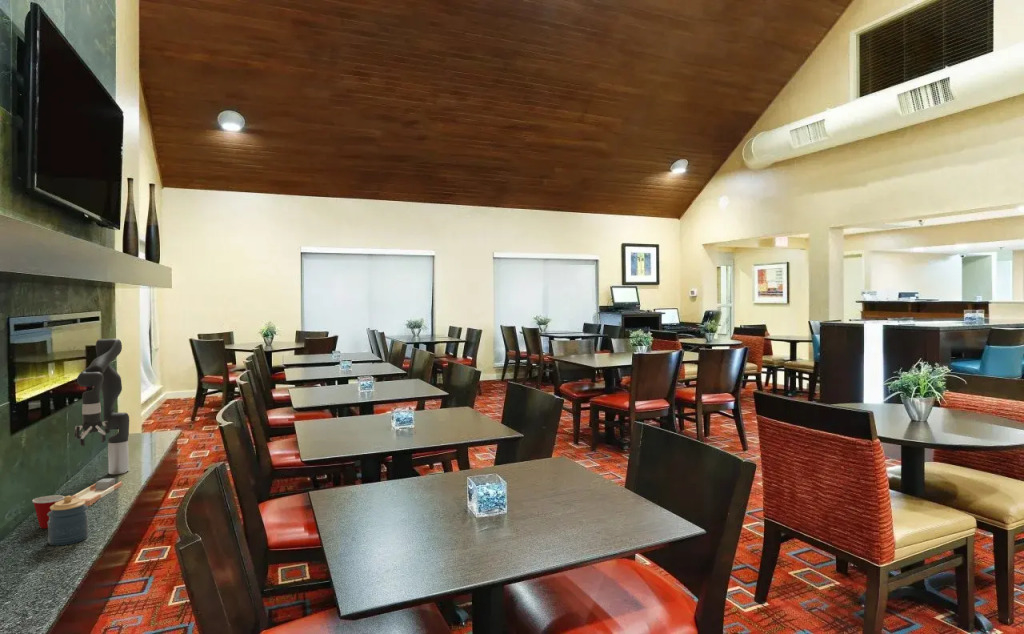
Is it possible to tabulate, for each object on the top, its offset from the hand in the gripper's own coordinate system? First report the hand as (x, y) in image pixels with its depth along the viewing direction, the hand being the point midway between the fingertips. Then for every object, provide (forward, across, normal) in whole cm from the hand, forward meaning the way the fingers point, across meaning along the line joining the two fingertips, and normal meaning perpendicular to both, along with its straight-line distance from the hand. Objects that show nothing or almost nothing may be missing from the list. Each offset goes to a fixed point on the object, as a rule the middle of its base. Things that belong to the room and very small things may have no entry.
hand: (92, 444), depth 291 cm
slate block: (+23, -4, +2) cm, 24 cm away
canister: (+22, +30, +62) cm, 72 cm away
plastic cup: (+23, +30, +38) cm, 53 cm away
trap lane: (+24, +3, +9) cm, 25 cm away
